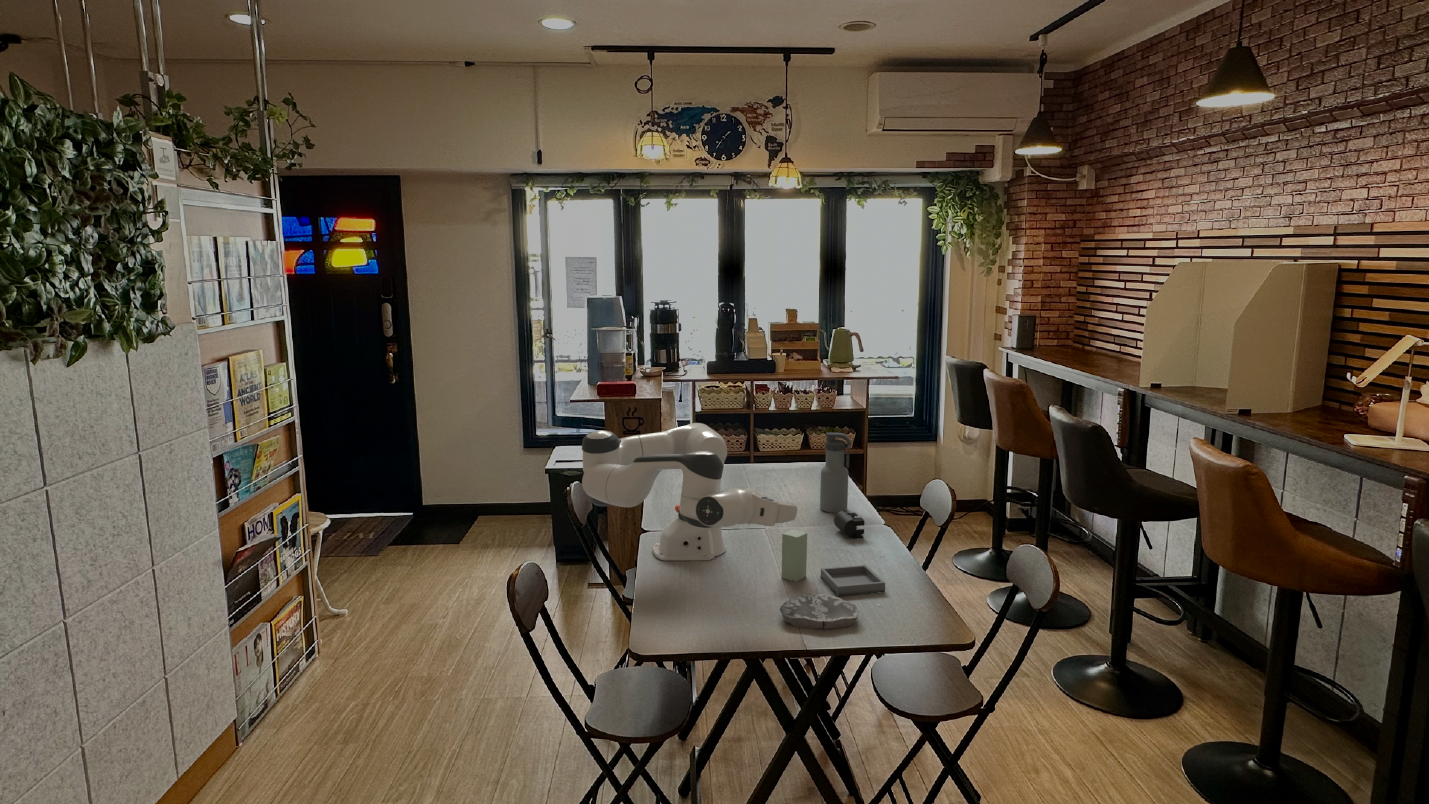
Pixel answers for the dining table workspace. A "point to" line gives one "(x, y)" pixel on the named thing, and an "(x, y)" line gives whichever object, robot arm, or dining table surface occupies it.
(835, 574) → the grey tray
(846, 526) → the end cap
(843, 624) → the brain slice
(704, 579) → the dining table surface
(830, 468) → the water bottle
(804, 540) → the sage block
